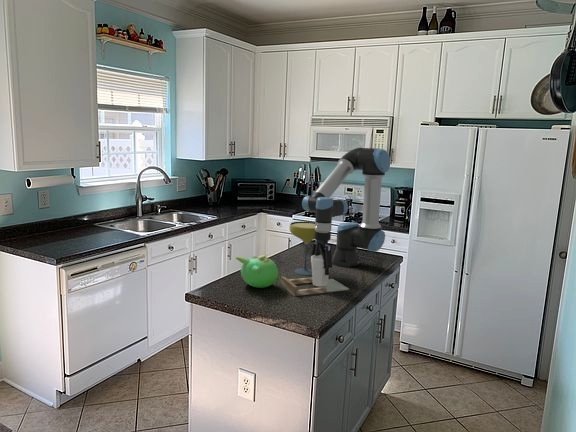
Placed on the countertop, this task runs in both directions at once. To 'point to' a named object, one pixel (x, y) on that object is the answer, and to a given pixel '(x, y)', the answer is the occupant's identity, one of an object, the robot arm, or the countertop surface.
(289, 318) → the countertop surface
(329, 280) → the pad
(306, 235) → the cocktail glass
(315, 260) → the foam cup
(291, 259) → the countertop surface
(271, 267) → the toy bird
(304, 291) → the wooden u-shaped frame
